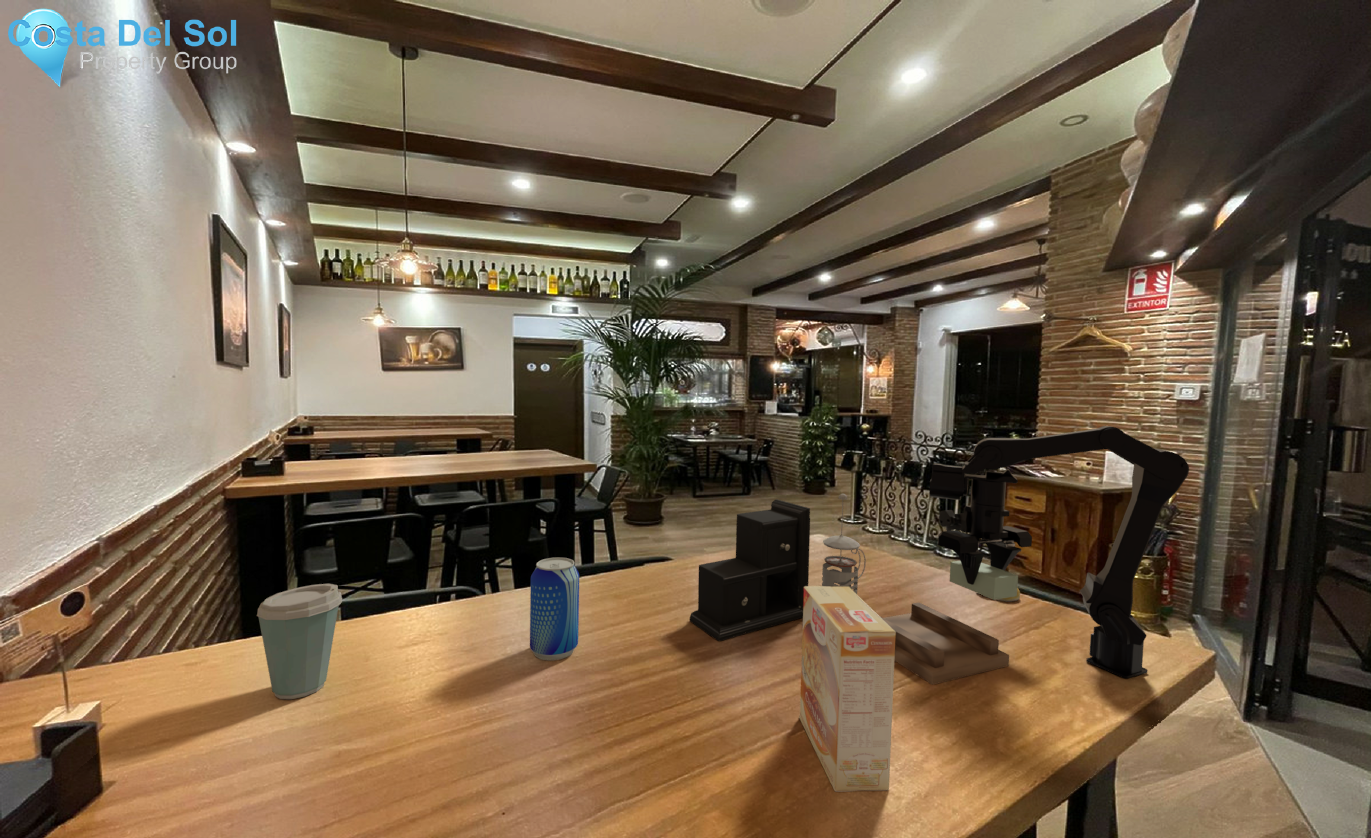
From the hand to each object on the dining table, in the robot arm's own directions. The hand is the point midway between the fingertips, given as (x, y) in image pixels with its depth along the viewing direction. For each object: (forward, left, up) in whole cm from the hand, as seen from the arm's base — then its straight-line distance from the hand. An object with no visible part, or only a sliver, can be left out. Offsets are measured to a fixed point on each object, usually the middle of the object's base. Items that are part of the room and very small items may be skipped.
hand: (982, 582), depth 105 cm
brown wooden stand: (0, +14, -11) cm, 18 cm away
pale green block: (0, 0, -1) cm, 1 cm away
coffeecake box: (-18, +48, -12) cm, 52 cm away
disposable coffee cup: (+23, +117, -12) cm, 119 cm away
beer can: (+22, +79, -12) cm, 83 cm away
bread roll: (+16, -25, -12) cm, 32 cm away
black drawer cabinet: (+23, +38, -12) cm, 46 cm away
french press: (+24, +14, -12) cm, 30 cm away
